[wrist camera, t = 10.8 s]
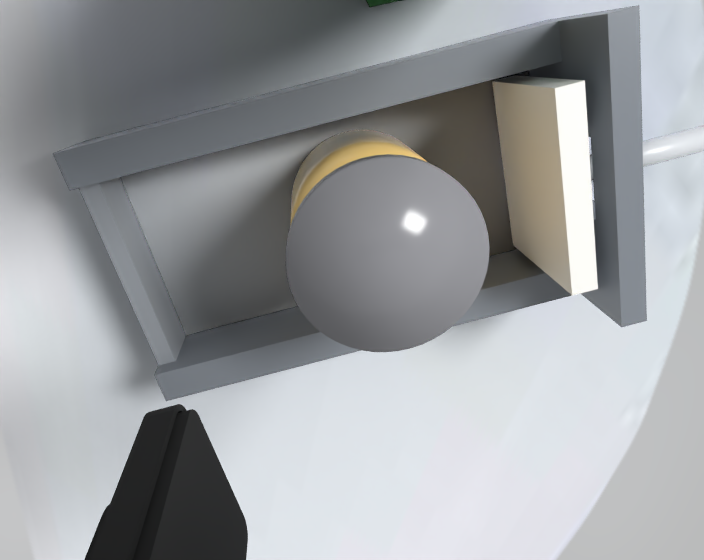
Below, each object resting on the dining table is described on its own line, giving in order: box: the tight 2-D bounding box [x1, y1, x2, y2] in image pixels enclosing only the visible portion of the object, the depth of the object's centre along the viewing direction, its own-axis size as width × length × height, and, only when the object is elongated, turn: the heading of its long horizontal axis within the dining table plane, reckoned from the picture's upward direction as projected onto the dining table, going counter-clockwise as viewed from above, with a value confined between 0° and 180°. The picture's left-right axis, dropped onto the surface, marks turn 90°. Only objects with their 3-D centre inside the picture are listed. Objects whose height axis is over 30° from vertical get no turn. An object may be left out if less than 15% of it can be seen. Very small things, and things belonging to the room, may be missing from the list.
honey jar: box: [286, 129, 489, 352], centre depth 21 cm, size 7×7×8 cm
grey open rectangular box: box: [53, 6, 647, 401], centre depth 22 cm, size 11×20×6 cm, turn 104°
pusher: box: [492, 76, 704, 296], centre depth 22 cm, size 8×8×6 cm
